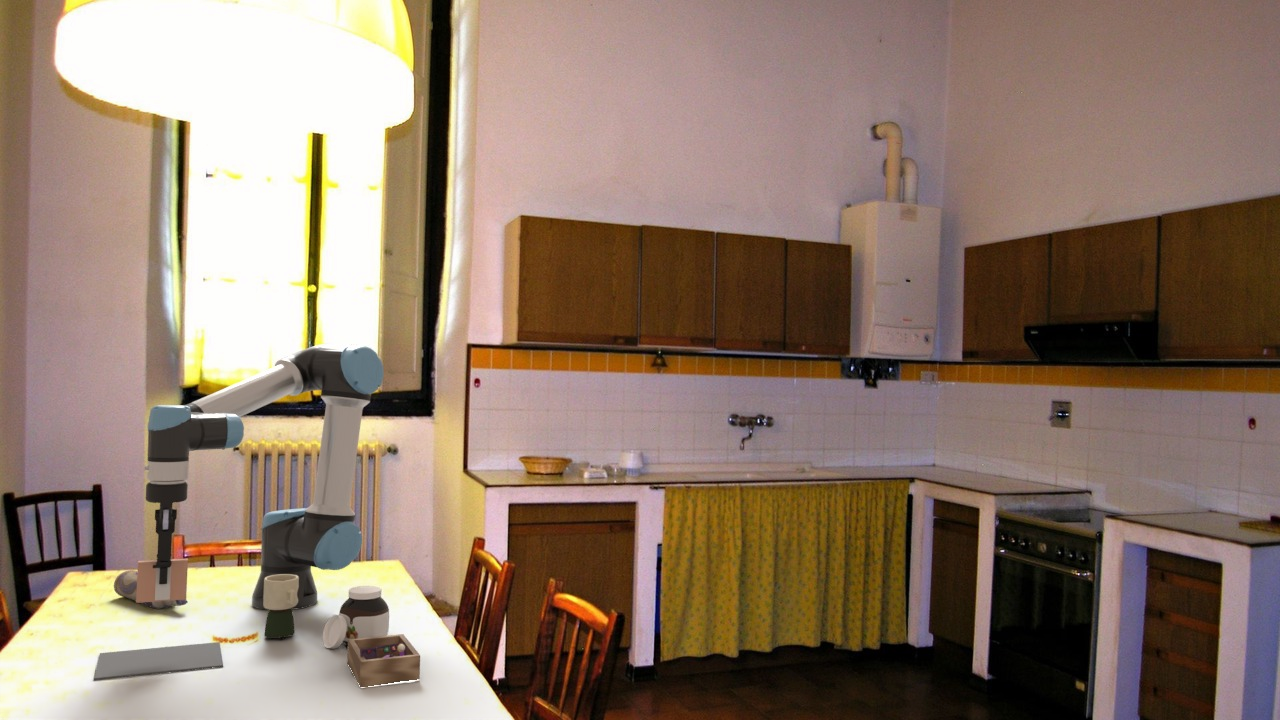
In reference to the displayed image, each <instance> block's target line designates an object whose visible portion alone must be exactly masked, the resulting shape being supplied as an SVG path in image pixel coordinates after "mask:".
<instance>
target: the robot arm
mask: <svg viewBox="0 0 1280 720" xmlns="http://www.w3.org/2000/svg"><path fill="white" fill-rule="evenodd" d="M383 365H384V364H383V362H382V360H381V358H380V357H379V356H378V353H377V352H376V351H375V350H374V349H372V347H368V346H366V345H359V344H329V343H323V344H317V345H314V346H310V347H307V348H305V349H302V350H300V351H297V352H295V353H292V354H291V355H289V356H285V357H284V358H281V359H278V360H277V361H276V362H275V363H274V366H273V367H270V368H268V369H266V370H264V371H262V372H261V371H260V373H259V372H258V373H256V374H255V375H252V376H249V377H247V378H245V379H243V380H241V381H238V382H235V383H234V384H231V385H229V386H227V387H225V388H222V389H220V390H218V391H215V392H213V393H211V394H208V395H206V396H203V397H201V398H199V399H196V400H194V401H192V402H190V403H187V404H183V405H180V404H172V405H171V404H159V405H154V406H153V407H152V408H150V411H149V417H148V423H147V464H146V465H143V470H144V471H147V472H146V480H147V481H148V482H147V483H146V485H145V500H146V502H147V503H153V504H156V503H157V504H159V509H155V510H154V520H155V533H156V534H157V535H158V537H157V553H156V560H157V562H156V565H153V568H156V583H155V600H168V599H170V584H171V564H172V562H171V559H172V543H173V542H172V541H173V540H172V538H173V537H172V536H173V534H174V533H175V530H176V520H177V516H178V509H177V508H173V503H181V502H184V501H186V500H187V499H188V488H189V487H188V482H187V480H189V470H190V469H189V468H190V466H189V465H190V464H189V463H190V460H189V459H190V458H189V456H190V452H191V451H205V450H207V451H209V450H225V449H232V448H236V447H238V446H239V445H240V444H241V443H242V440H243V439H244V435H245V434H244V432H245V431H244V430H245V427H244V426H245V425H244V423H243V421H242V418H241V417H243V416H246V415H247V414H249V413H252V412H254V411H256V410H258V409H260V408H262V407H265V406H267V405H269V404H272V403H274V402H275V401H278V400H280V399H282V398H284V397H286V396H288V395H289V396H290V397H295V396H299V395H301V394H303V393H306V392H310V391H311V392H312V391H321V392H320V398H321V399H322V401H323V402H324V403H325V412H324V419H323V425H322V432H321V441H320V448H319V456H318V463H317V469H316V477H315V485H314V492H313V499H312V503H311V505H309V506H308V507H303V508H302V507H301V508H290V509H282V510H280V509H279V510H273V511H269V512H267V513H265V514H264V516H263V517H262V526H261V529H260V530H261V547H260V548H261V550H260V551H261V552H260V553H261V555H260V557H261V558H260V573H259V577H258V579H257V582H256V584H255V588H254V590H253V593H252V597H251V606H252V605H253V606H252V607H254V608H257V609H259V610H266V611H269V610H270V609H266V608H264V606H263V596H264V579H265V577H267V576H271V575H278V574H292V575H297V576H298V577H299V588H298V591H297V597H298V603H297V605H296V606H294V607H292V608H291V610H297V609H296V608H299V609H302V607H304V608H307V607H306V606H308V607H310V606H309V605H311V606H313V605H315V604H316V603H317V602H318V591H317V587H316V584H315V580H314V577H313V573H312V567H313V568H318V569H319V570H324V571H325V570H326V571H327V570H328V571H329V570H331V571H340V570H343V569H345V568H346V567H348V566H350V565H351V563H352V562H353V561H354V560H355V559H356V558H357V557H358V555H359V553H360V550H361V549H362V544H363V533H362V531H361V529H360V526H359V525H357V524H356V523H355V518H356V513H355V511H354V510H353V509H352V508H351V499H352V492H353V485H354V477H355V471H356V470H355V468H356V462H357V454H358V447H359V438H360V432H361V431H360V430H361V424H362V415H363V410H364V407H366V406H367V405H368V404H370V403H371V397H372V394H373V393H375V392H377V391H378V390H379V388H380V387H381V386H382V383H383V381H384V373H385V371H384V366H383Z"/></svg>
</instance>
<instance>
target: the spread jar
mask: <svg viewBox="0 0 1280 720" xmlns="http://www.w3.org/2000/svg"><path fill="white" fill-rule="evenodd" d="M389 628H390V608H389V605H388V604H387V602H386V601H385V600H384V598H382V588H381V587H380V586H376V585H360V586H353V587H351V588H349V589H348V598H347V599H346V600H345V601H344V602H343V603H342V605H341V607H340V609H339V612H338V614H334V615H332V616H330V617H329V618H328V619H327V621H326V623H325V625H324V627H323V632H322V642H323V643H322V644H323V645H324V647H325V648H327V649H331V650H332V649H334V650H335V649H338V648H339V647H340V646H341V645H342V643H344V644H345V645H346V646H347V645H348V639H357V638H368V637H378V636H388V634H389Z"/></svg>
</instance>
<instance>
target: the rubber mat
mask: <svg viewBox="0 0 1280 720" xmlns="http://www.w3.org/2000/svg"><path fill="white" fill-rule="evenodd" d="M98 655H99V656H98V658H97V665H96V668H95V673H94V677H93V681H101V680H111V679H118V678H119V679H123V678H132V677H142V676H149V675H150V676H151V675H160V673H161V674H169V672H171V673H179V671H181V672H186V671H187V672H188V670H190V671H196V670H195V669H200V670H205V669H204V668H210V669H213V668H212V667H219V668H224V661H223V655H222V649H221V642H220V641H217V642H206V643H195V644H194V643H193V644H184V645H174V646H173V645H172V646H164V647H152V648H141V649H129V650H121V651H120V650H119V651H107V652H100V653H99V654H98ZM202 668H203V669H202Z"/></svg>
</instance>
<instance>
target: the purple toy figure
mask: <svg viewBox="0 0 1280 720" xmlns="http://www.w3.org/2000/svg"><path fill="white" fill-rule="evenodd" d="M396 646H398V647H396ZM389 647H390V648H389ZM379 648H383V652H384V653H389V651H390V650H391V652H396V650H397V649H398V651H399V653H400V656H405V655H407V654H406V644H405V642H403V643H397V644H390V645H384V646H378V647H371V648H365V649H360V656H361V657H362V656H364V657H365V659H366V660H368V659H377V658H378V656H377V649H379ZM392 655H393V654H392ZM392 655H386V656H384V657H383V658H387V657H396V656H392Z"/></svg>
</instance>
